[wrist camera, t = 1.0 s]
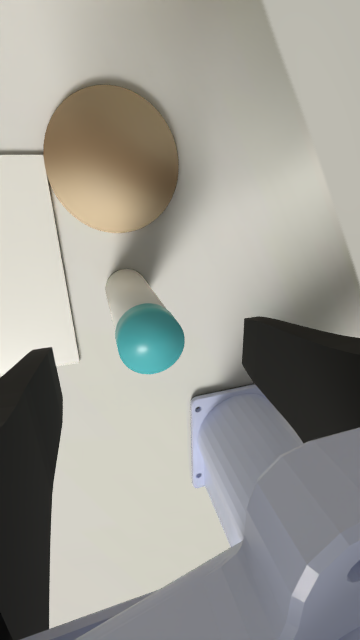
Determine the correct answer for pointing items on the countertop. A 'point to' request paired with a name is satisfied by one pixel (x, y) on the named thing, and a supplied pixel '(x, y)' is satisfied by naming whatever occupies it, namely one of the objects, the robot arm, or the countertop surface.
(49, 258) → the paper
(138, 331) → the marker
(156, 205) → the coaster
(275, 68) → the countertop surface
